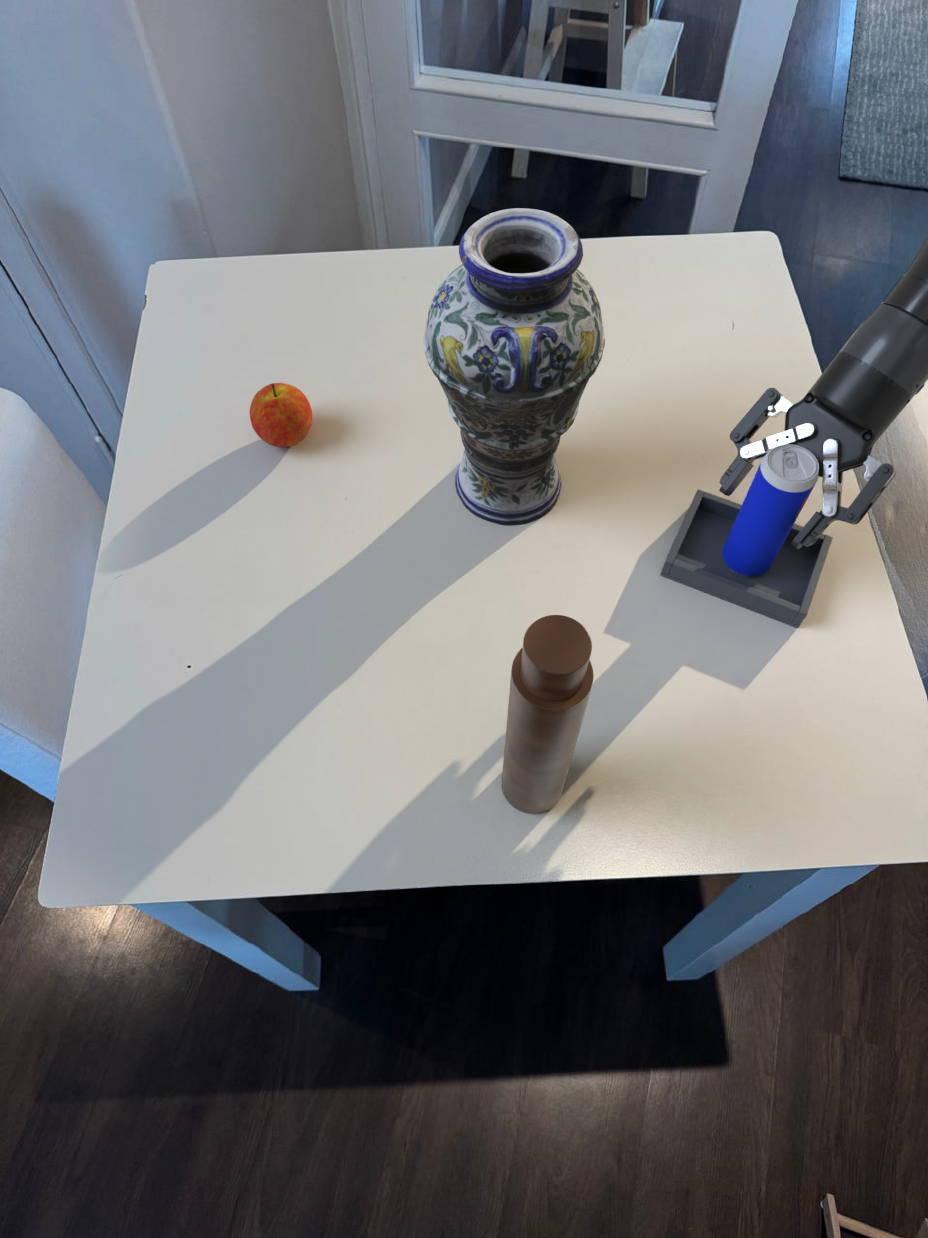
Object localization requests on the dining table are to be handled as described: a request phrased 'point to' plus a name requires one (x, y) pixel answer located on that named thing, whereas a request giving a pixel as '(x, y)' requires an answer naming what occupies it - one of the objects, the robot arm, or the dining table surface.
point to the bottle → (545, 711)
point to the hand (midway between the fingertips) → (758, 519)
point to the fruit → (281, 415)
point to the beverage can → (770, 509)
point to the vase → (514, 357)
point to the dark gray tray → (768, 594)
